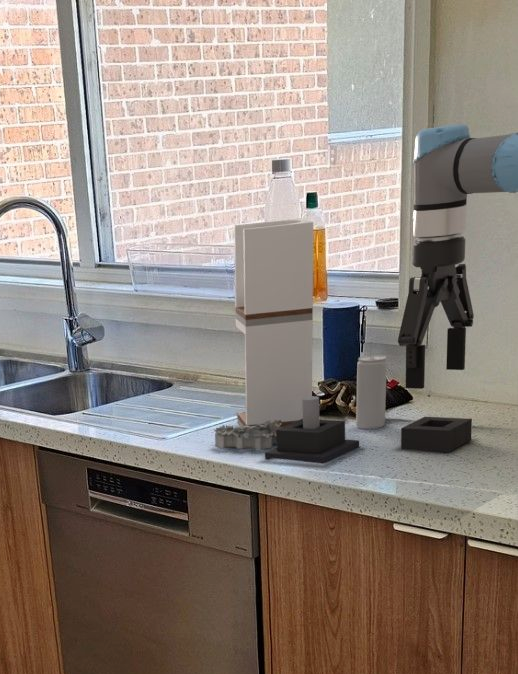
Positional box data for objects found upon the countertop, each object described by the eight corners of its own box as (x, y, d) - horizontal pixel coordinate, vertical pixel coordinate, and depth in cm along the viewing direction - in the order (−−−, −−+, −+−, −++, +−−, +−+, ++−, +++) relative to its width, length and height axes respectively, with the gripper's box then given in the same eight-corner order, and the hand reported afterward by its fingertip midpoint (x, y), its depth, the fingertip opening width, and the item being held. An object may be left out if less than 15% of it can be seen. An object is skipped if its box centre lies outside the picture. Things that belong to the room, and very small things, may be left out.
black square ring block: (345, 441, 200) (345, 420, 199) (319, 454, 195) (319, 432, 194) (302, 439, 206) (302, 418, 204) (276, 450, 201) (275, 430, 199)
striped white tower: (299, 418, 226) (299, 218, 212) (311, 430, 217) (313, 222, 202) (237, 423, 227) (234, 225, 213) (247, 436, 217) (244, 229, 203)
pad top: (471, 440, 196) (472, 418, 195) (448, 452, 192) (448, 430, 190) (424, 437, 202) (424, 416, 201) (400, 449, 197) (400, 428, 196)
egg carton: (285, 443, 211) (285, 419, 210) (265, 453, 206) (265, 429, 204) (229, 439, 218) (229, 416, 216) (209, 449, 212) (208, 426, 211)
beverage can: (356, 431, 211) (358, 361, 206) (355, 425, 215) (356, 356, 210) (385, 430, 210) (387, 359, 205) (384, 423, 214) (386, 354, 209)
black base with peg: (359, 449, 201) (358, 391, 197) (324, 466, 194) (322, 407, 190) (300, 445, 208) (299, 389, 204) (264, 461, 201) (262, 404, 198)
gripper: (453, 227, 194) (449, 361, 203) (374, 250, 179) (374, 395, 188) (499, 224, 189) (493, 362, 198) (423, 248, 174) (420, 397, 183)
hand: (435, 378), depth 193 cm, fingers open, 13 cm apart
